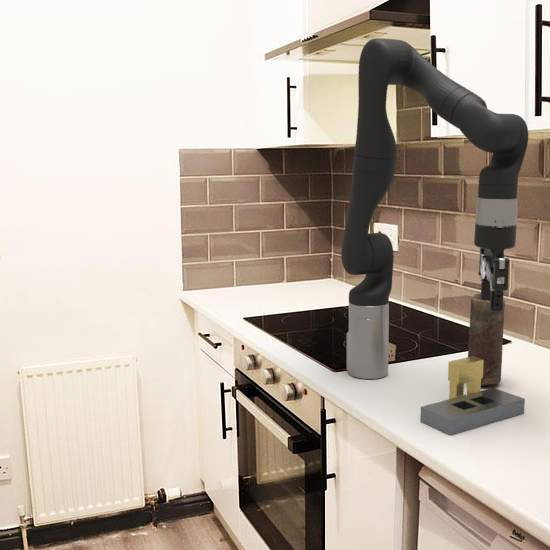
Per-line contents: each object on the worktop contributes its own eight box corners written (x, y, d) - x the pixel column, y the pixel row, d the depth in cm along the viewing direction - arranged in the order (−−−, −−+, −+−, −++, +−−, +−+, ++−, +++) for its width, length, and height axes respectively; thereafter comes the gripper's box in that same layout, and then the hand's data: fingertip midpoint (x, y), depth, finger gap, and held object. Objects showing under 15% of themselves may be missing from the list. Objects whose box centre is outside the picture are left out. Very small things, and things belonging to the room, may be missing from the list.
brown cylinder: (495, 377, 160) (498, 292, 157) (506, 388, 153) (510, 299, 150) (462, 378, 160) (464, 293, 157) (472, 389, 153) (475, 300, 149)
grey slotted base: (420, 421, 136) (420, 406, 135) (492, 401, 146) (493, 387, 145) (450, 435, 129) (450, 419, 128) (524, 413, 139) (524, 398, 138)
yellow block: (447, 400, 146) (448, 361, 145) (471, 394, 150) (472, 356, 148) (457, 405, 144) (459, 365, 142) (482, 398, 147) (483, 359, 146)
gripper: (468, 217, 139) (464, 296, 142) (483, 226, 125) (478, 314, 128) (507, 217, 139) (502, 297, 142) (526, 227, 125) (520, 315, 128)
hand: (491, 305), depth 135 cm, fingers open, 8 cm apart
